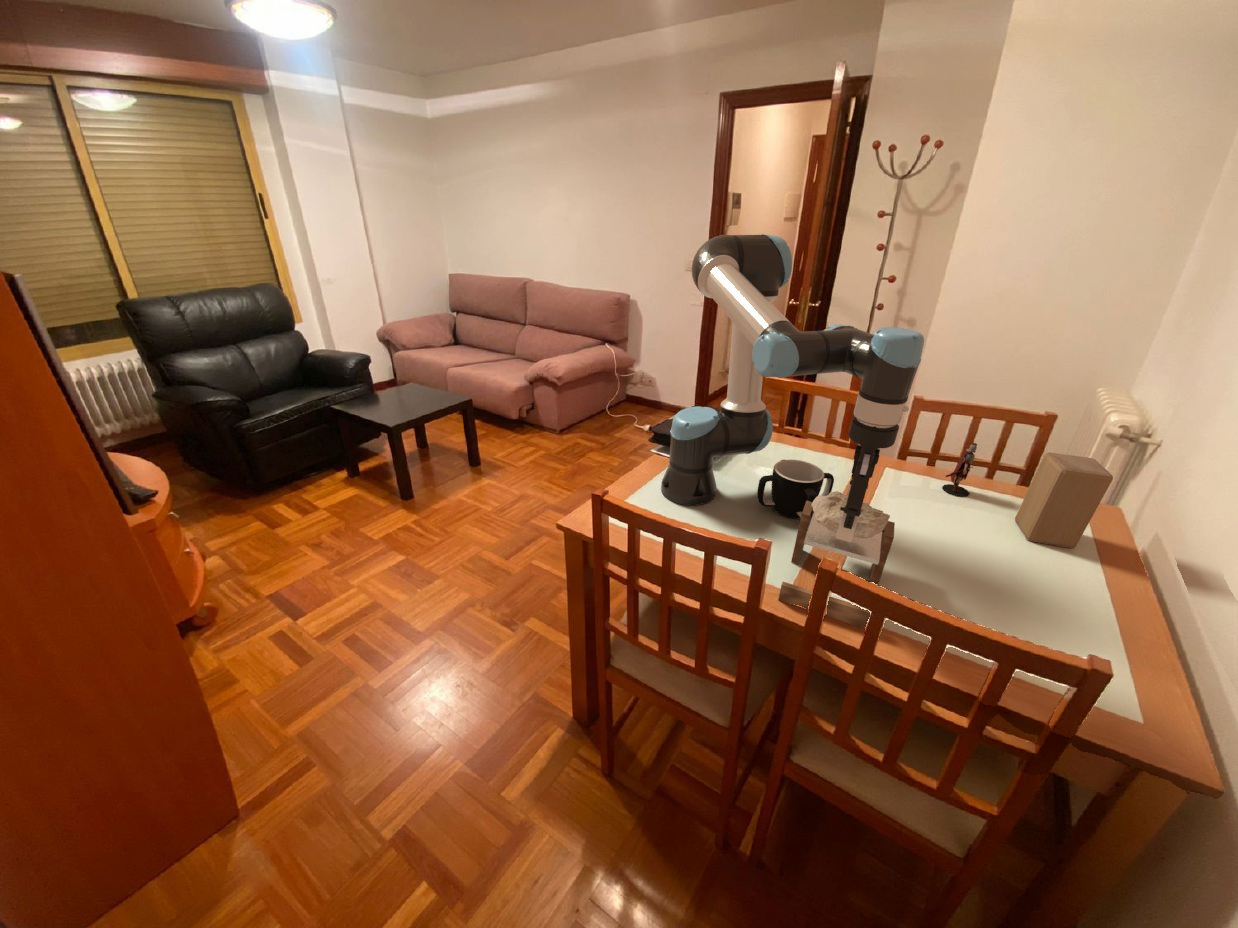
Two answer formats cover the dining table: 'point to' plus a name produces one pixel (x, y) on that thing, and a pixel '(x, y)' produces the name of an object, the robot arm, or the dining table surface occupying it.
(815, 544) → the trapdoor
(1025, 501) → the wooden block
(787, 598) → the frame
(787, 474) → the mug
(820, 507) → the stone
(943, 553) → the dining table surface
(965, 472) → the figurine
